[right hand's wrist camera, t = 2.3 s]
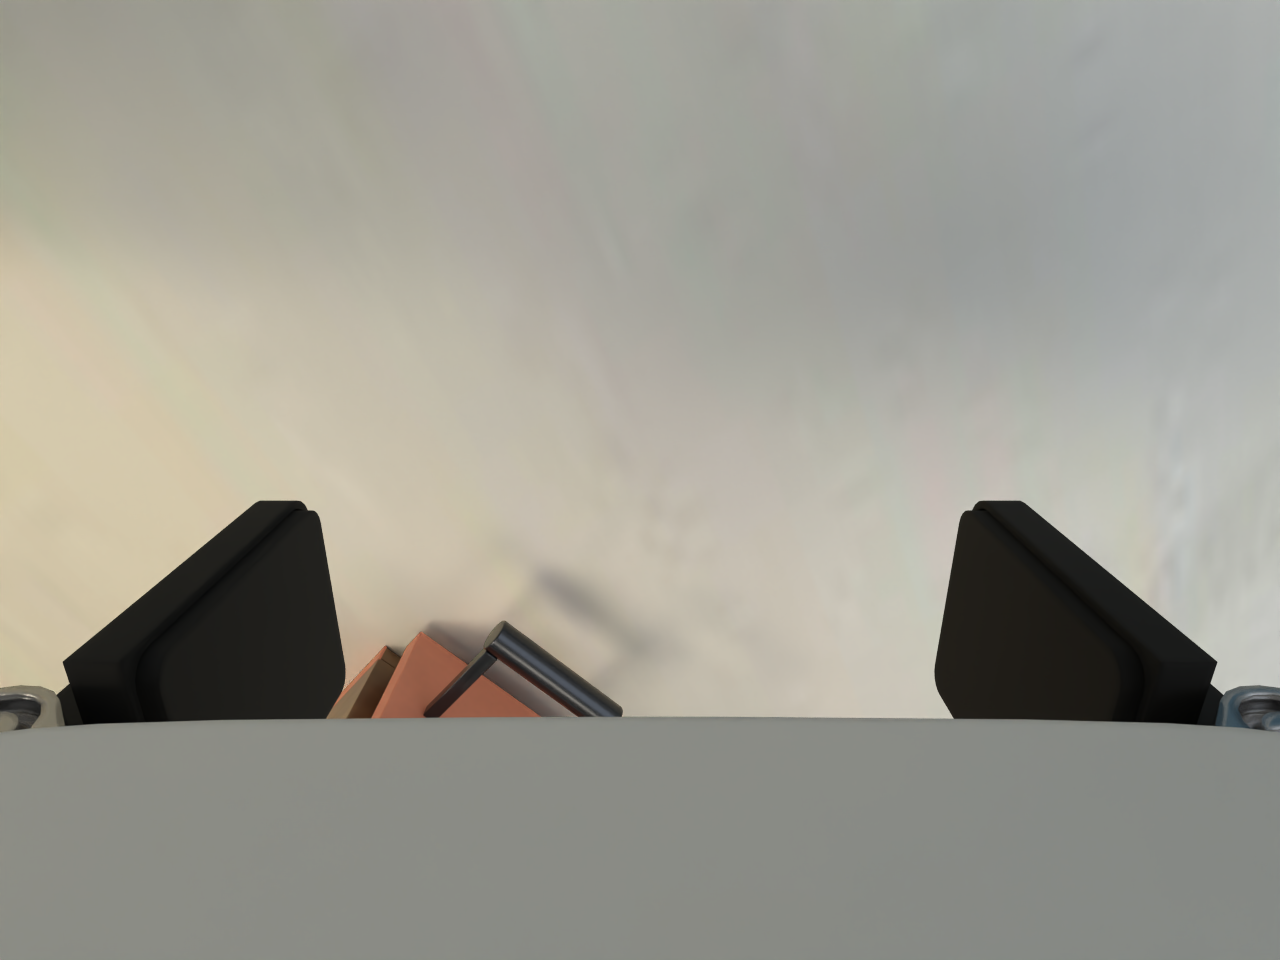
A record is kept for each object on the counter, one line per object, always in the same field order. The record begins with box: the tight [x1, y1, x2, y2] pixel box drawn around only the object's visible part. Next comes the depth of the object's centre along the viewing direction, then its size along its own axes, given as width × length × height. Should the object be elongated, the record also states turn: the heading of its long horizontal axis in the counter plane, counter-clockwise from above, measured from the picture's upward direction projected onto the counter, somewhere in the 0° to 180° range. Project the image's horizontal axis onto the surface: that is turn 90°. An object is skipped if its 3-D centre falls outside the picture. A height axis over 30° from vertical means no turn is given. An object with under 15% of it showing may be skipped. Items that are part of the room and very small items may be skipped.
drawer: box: [371, 621, 623, 718], centre depth 35 cm, size 24×9×8 cm, turn 137°
